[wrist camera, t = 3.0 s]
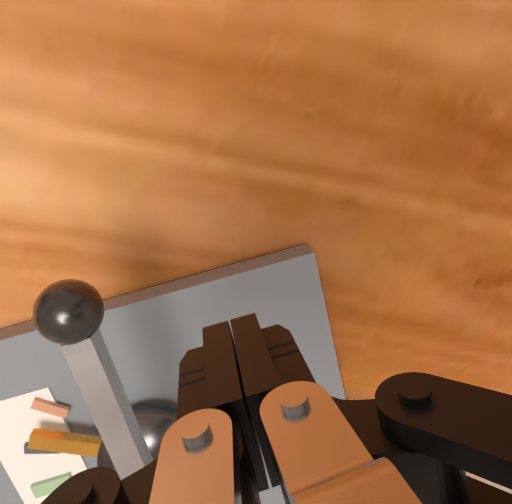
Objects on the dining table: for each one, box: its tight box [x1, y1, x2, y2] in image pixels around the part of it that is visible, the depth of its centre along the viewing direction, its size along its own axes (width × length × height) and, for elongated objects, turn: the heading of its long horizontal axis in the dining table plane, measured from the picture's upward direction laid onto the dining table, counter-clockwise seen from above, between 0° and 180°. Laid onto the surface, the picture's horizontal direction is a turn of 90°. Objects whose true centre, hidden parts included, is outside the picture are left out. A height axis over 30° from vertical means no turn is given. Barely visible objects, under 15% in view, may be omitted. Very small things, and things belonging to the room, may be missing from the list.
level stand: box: [0, 244, 346, 504], centre depth 26 cm, size 26×20×2 cm
